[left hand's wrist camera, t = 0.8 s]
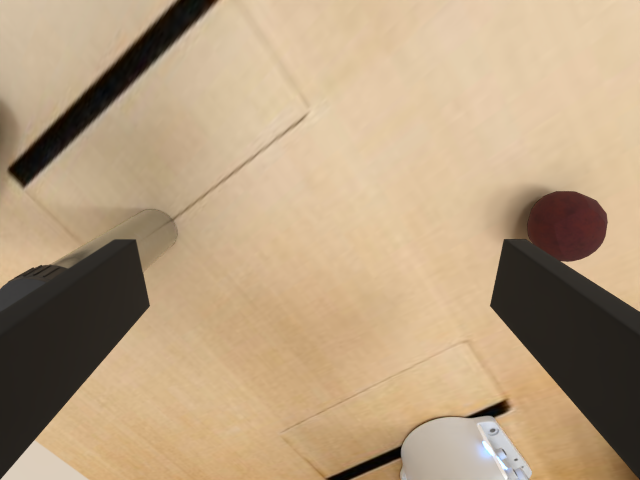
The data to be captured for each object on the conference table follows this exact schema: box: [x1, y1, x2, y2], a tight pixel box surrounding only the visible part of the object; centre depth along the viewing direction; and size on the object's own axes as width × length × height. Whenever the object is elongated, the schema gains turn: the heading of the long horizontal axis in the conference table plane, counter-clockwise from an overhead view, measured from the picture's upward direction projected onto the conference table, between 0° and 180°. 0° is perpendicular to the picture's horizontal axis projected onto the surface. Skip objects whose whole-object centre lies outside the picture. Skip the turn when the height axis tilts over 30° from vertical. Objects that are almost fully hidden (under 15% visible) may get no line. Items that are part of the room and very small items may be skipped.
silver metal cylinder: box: [50, 209, 177, 272], centre depth 33 cm, size 5×5×18 cm
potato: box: [527, 191, 608, 262], centre depth 37 cm, size 7×8×7 cm
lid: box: [0, 265, 68, 312], centre depth 25 cm, size 6×6×2 cm
